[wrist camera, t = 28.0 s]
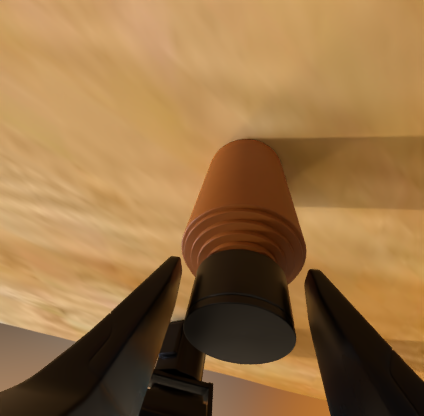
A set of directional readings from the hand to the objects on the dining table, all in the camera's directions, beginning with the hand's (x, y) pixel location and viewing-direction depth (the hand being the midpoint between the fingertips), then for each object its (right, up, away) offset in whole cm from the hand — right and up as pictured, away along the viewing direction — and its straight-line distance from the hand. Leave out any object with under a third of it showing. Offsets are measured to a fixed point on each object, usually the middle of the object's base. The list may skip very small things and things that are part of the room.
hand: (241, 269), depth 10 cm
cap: (0, -2, -2) cm, 2 cm away
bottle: (+1, +5, +9) cm, 11 cm away
